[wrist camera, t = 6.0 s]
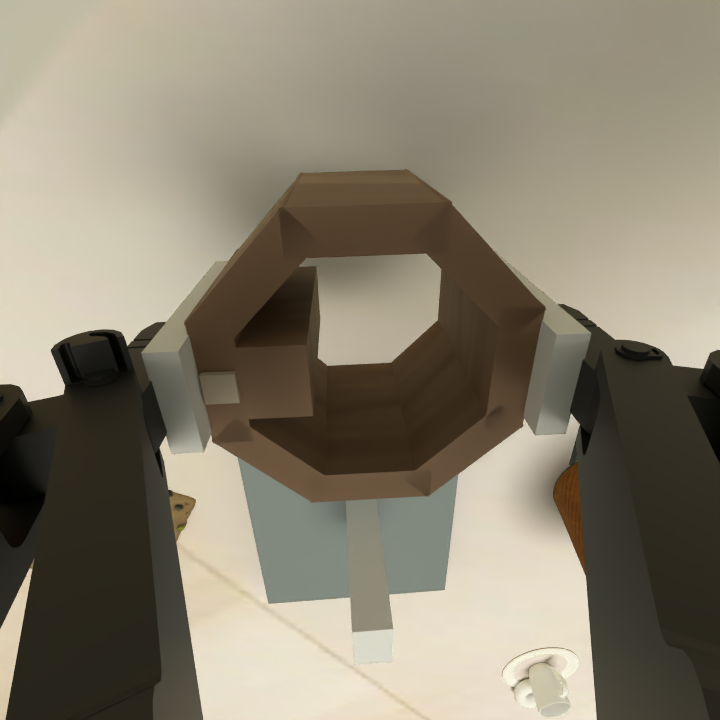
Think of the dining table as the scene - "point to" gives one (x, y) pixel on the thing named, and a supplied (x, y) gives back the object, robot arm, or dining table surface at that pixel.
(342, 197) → the brown octagonal ring
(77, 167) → the dining table surface
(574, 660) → the teacup and saucer
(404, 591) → the shaft board
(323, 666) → the dining table surface
